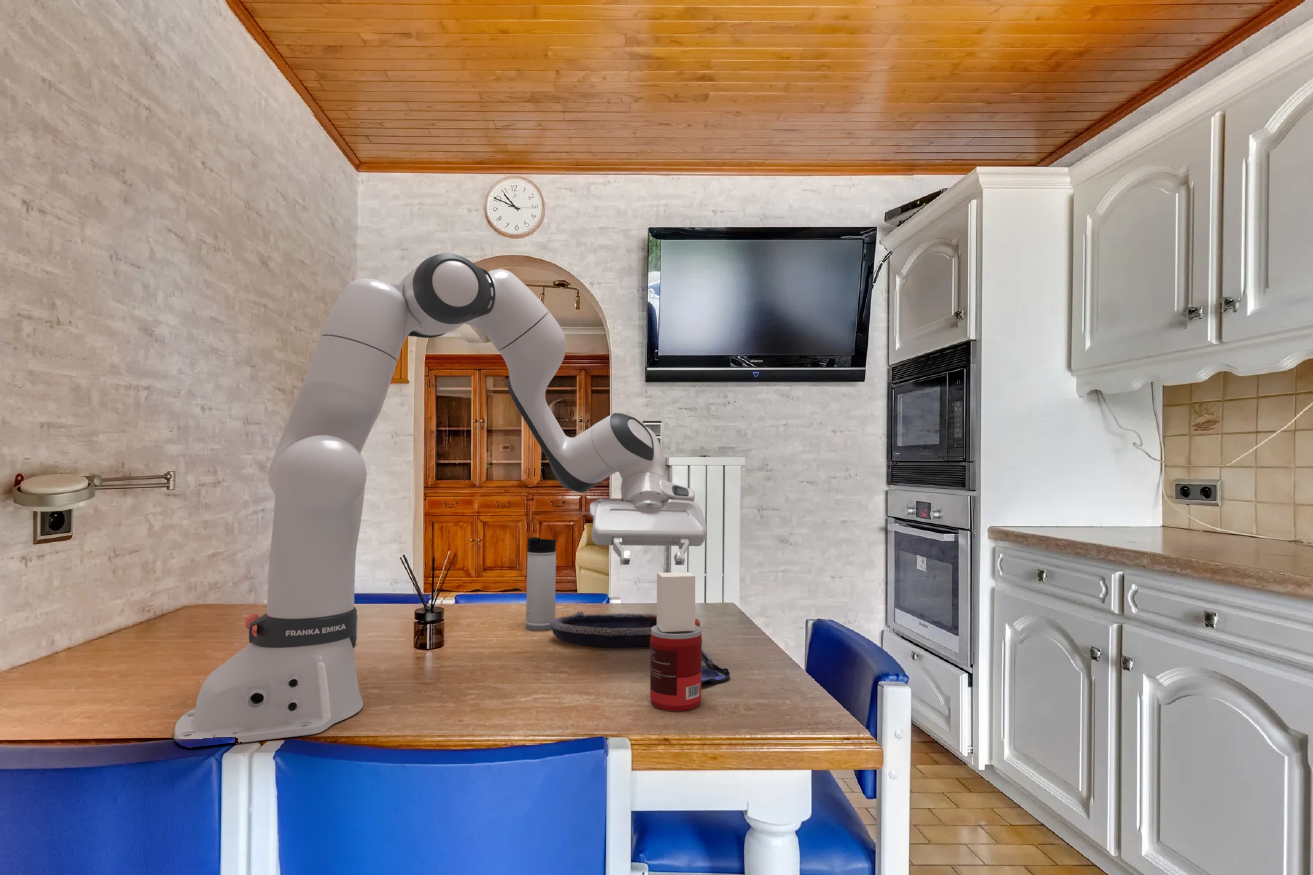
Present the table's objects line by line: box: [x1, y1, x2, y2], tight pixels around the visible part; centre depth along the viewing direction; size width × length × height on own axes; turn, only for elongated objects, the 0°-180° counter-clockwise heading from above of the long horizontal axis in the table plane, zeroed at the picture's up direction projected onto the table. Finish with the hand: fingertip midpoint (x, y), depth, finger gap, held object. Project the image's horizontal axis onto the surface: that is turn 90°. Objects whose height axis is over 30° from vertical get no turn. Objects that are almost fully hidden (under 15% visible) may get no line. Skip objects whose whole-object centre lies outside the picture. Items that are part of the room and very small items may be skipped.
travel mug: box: [525, 536, 557, 632], centre depth 148 cm, size 6×7×20 cm
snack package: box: [701, 649, 731, 685], centre depth 112 cm, size 12×6×12 cm
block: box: [656, 571, 696, 632], centre depth 101 cm, size 4×5×8 cm
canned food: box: [649, 625, 703, 712], centre depth 100 cm, size 8×8×11 cm
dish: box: [550, 611, 701, 649], centre depth 137 cm, size 16×31×5 cm, turn 88°
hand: (652, 562), depth 114 cm, fingers open, 8 cm apart
